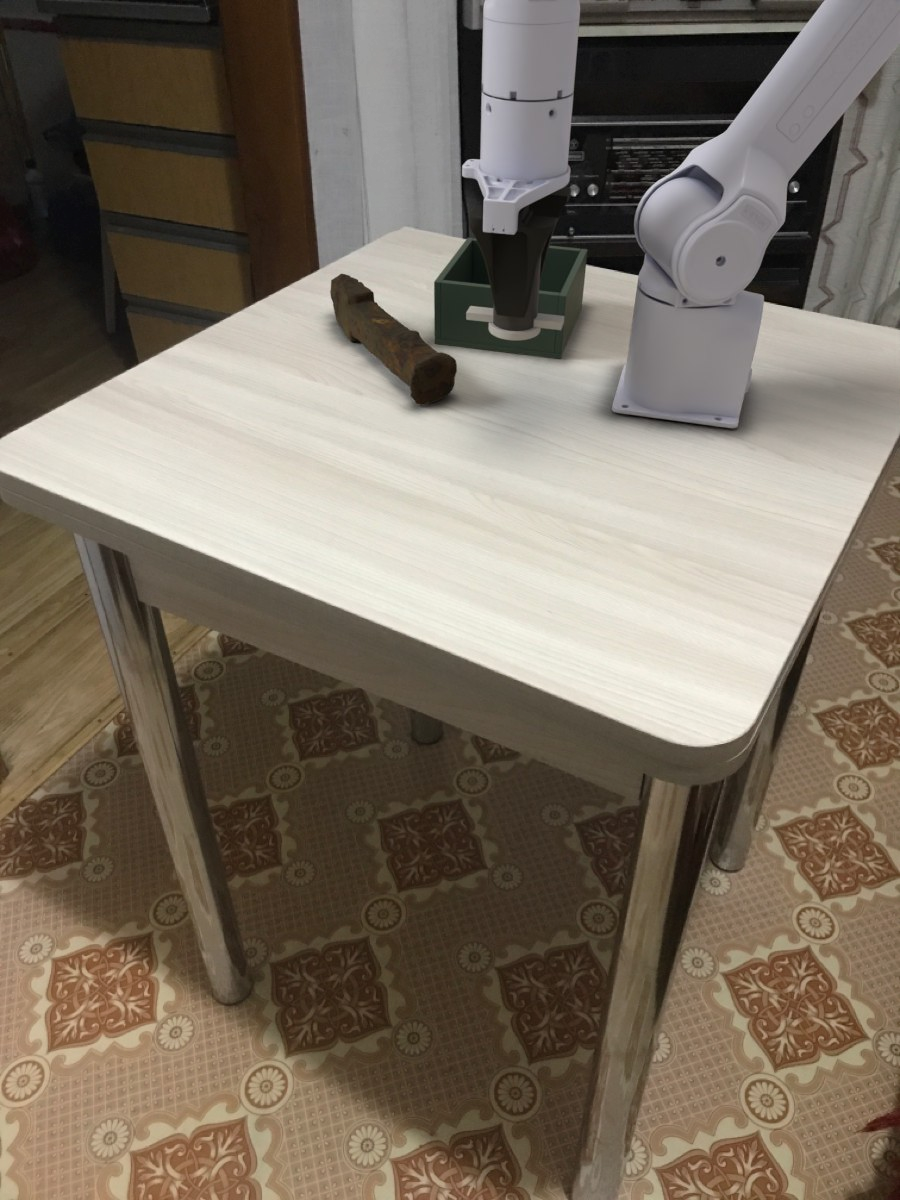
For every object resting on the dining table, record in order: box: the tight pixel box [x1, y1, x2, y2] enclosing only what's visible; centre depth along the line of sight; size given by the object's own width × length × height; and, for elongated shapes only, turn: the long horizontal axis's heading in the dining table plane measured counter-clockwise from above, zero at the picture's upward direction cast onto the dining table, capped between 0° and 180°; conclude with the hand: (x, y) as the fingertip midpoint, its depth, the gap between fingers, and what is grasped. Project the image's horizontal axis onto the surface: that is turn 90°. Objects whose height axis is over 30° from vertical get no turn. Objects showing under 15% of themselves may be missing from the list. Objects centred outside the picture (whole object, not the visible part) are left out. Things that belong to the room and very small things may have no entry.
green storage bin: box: [433, 237, 589, 360], centre depth 81 cm, size 11×11×6 cm
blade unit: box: [466, 257, 564, 341], centre depth 64 cm, size 7×4×7 cm, turn 75°
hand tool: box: [329, 273, 458, 406], centre depth 76 cm, size 19×4×5 cm, turn 27°
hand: (516, 304), depth 65 cm, fingers closed on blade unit, 3 cm apart
